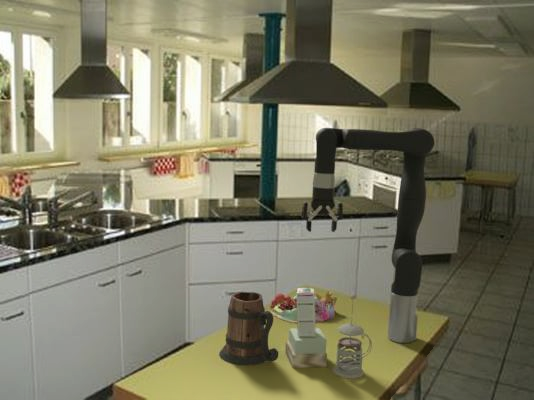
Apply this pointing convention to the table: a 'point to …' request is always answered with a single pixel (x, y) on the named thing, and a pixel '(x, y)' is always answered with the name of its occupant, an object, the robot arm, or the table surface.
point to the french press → (348, 365)
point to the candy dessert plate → (289, 309)
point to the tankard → (248, 331)
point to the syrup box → (306, 312)
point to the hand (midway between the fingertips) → (321, 231)
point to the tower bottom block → (305, 358)
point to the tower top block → (307, 342)
